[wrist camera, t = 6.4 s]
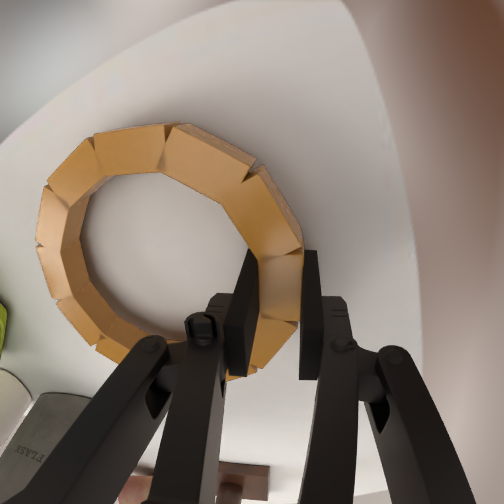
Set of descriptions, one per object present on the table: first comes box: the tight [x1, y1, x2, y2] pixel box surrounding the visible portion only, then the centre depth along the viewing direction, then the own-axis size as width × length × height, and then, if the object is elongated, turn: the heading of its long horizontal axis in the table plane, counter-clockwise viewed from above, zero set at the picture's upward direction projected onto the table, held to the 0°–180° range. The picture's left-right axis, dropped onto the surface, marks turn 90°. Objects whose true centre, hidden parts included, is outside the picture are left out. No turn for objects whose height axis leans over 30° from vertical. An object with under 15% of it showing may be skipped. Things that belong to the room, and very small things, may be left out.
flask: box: [0, 393, 91, 504], centre depth 22 cm, size 15×6×20 cm, turn 106°
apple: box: [118, 475, 153, 504], centre depth 33 cm, size 8×8×8 cm
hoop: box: [35, 122, 304, 382], centre depth 18 cm, size 16×16×2 cm
